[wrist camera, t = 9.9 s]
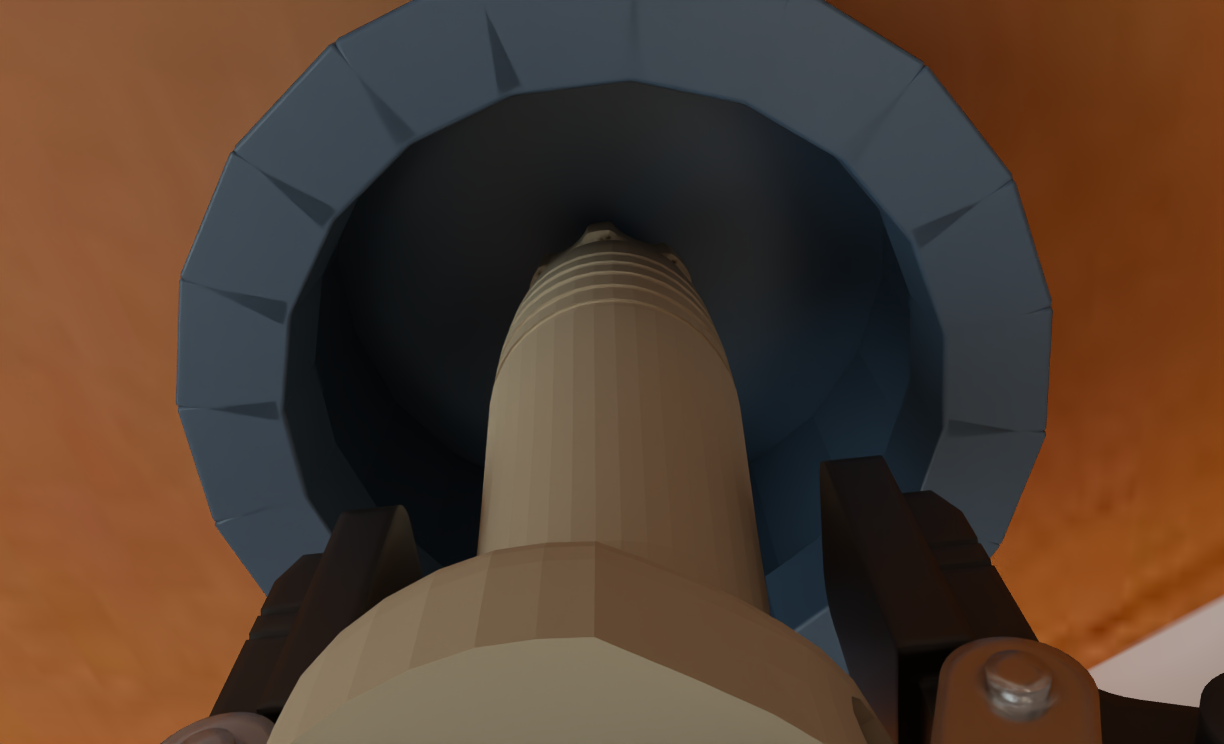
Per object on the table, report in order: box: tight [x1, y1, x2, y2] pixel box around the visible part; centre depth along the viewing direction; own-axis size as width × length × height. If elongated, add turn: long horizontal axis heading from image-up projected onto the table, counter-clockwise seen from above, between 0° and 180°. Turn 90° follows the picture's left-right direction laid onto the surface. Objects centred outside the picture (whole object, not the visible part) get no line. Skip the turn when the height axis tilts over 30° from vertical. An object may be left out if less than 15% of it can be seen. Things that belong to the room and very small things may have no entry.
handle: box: [267, 222, 895, 744], centre depth 15 cm, size 5×6×15 cm
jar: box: [176, 0, 1053, 676], centre depth 20 cm, size 14×14×8 cm
